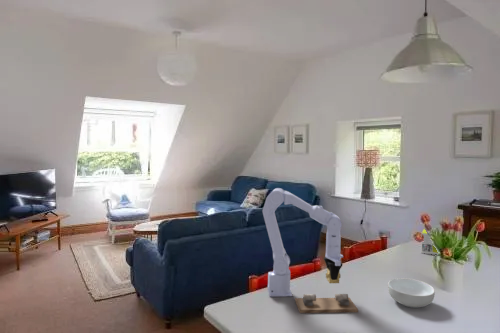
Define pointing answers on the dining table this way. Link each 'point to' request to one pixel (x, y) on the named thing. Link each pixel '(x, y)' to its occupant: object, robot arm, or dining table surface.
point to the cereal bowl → (411, 292)
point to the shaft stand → (325, 304)
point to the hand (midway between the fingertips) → (332, 277)
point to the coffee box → (427, 245)
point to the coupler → (330, 277)
